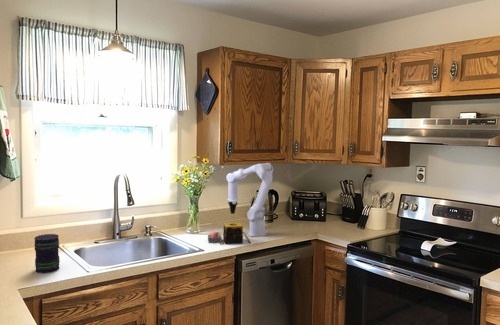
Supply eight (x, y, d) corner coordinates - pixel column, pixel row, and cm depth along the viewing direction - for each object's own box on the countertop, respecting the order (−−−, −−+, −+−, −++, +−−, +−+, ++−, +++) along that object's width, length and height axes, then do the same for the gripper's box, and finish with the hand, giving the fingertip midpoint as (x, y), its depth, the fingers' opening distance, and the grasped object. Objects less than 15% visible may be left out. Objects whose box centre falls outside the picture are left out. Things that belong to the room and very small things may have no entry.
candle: (224, 244, 229) (224, 226, 229) (222, 239, 239) (222, 222, 238) (243, 243, 231) (243, 226, 231) (240, 239, 241) (240, 222, 240)
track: (243, 232, 256) (243, 231, 256) (251, 243, 232) (251, 242, 232) (215, 233, 253) (215, 232, 253) (219, 244, 229) (219, 243, 229)
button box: (219, 239, 240) (219, 234, 239) (220, 242, 233) (220, 237, 233) (207, 239, 238) (207, 234, 238) (208, 243, 232) (208, 237, 232)
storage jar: (63, 265, 192) (62, 234, 190) (54, 273, 182) (53, 239, 181) (41, 265, 191) (40, 234, 190) (31, 273, 182) (29, 239, 180)
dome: (217, 240, 238) (217, 231, 238) (218, 241, 234) (218, 233, 234) (210, 240, 237) (210, 231, 237) (210, 242, 234) (210, 233, 233)
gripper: (225, 190, 267) (225, 211, 268) (227, 194, 253) (227, 216, 254) (235, 190, 269) (235, 211, 270) (239, 193, 254) (239, 215, 255)
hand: (232, 213), depth 262 cm, fingers closed
